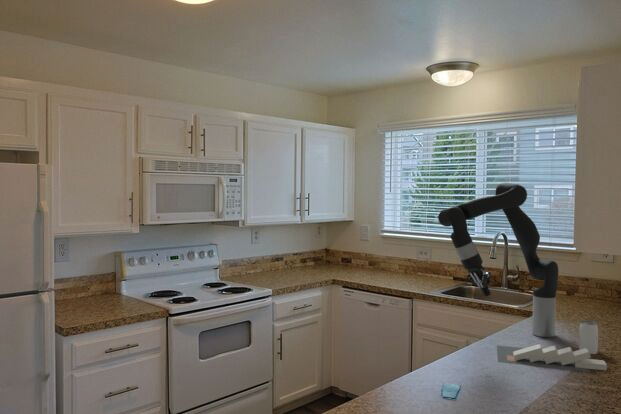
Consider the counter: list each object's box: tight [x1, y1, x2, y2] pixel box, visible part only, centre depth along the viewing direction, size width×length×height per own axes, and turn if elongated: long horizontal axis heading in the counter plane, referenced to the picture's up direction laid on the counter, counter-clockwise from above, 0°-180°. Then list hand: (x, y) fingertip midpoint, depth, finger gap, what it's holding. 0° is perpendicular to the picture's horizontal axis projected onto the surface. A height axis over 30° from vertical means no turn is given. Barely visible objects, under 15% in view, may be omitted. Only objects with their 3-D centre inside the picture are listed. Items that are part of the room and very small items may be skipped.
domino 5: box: [573, 358, 608, 371], centre depth 186 cm, size 5×2×10 cm
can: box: [578, 320, 599, 355], centre depth 204 cm, size 6×6×12 cm
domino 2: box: [529, 345, 558, 362], centre depth 191 cm, size 5×2×10 cm
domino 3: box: [544, 346, 574, 364], centre depth 189 cm, size 5×2×10 cm
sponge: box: [440, 383, 462, 400], centre depth 162 cm, size 2×12×6 cm
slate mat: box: [496, 344, 590, 373], centre depth 196 cm, size 22×30×1 cm
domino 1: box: [513, 343, 543, 361], centre depth 192 cm, size 5×2×10 cm
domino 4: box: [560, 348, 592, 365], centre depth 187 cm, size 5×2×10 cm
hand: (487, 295), depth 201 cm, fingers closed
